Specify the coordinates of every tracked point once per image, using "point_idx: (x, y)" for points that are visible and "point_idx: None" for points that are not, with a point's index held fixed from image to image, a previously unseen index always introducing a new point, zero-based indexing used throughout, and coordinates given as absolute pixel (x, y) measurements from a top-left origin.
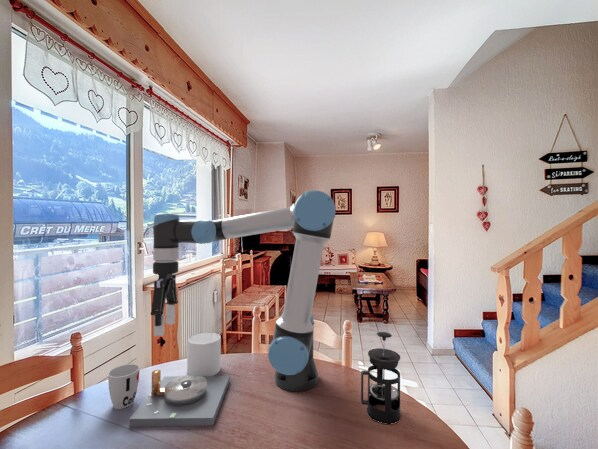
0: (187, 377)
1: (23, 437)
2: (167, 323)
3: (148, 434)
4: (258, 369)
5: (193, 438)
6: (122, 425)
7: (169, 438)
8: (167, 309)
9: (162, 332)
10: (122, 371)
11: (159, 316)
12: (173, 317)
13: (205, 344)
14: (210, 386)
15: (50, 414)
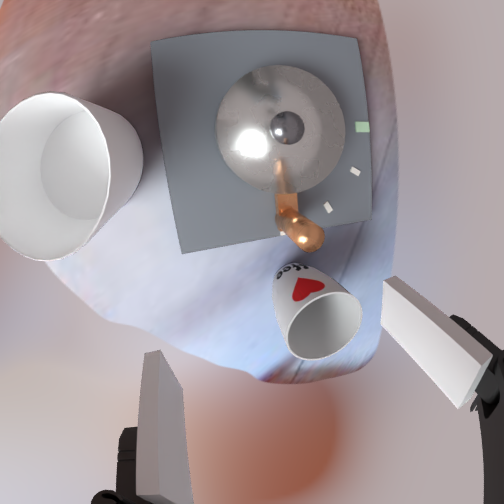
0: (239, 144)
1: (368, 349)
2: (179, 385)
3: (380, 163)
4: (77, 8)
5: (382, 73)
6: (359, 231)
7: (387, 117)
8: (184, 477)
9: (409, 289)
10: (291, 342)
11: (498, 352)
12: (160, 392)
13: (102, 125)
14: (223, 73)
15: (321, 368)
